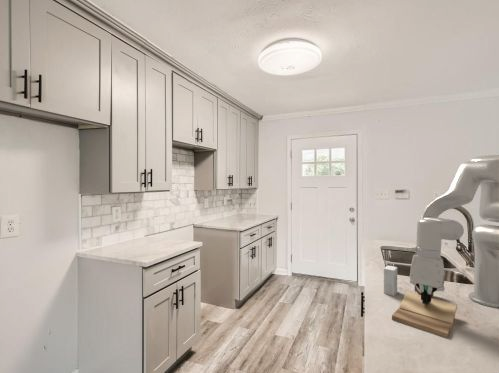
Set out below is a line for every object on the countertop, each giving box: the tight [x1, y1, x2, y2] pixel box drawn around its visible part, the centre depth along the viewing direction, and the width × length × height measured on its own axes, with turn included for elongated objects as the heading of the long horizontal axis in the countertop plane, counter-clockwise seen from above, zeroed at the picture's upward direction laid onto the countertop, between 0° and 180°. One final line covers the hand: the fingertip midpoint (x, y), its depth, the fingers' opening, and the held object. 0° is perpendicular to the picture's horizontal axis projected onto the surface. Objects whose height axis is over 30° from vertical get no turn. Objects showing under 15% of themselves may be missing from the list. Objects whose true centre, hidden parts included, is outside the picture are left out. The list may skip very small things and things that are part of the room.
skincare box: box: [383, 265, 398, 297], centre depth 119 cm, size 6×4×12 cm
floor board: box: [391, 307, 453, 339], centre depth 97 cm, size 20×18×2 cm
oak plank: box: [398, 291, 458, 327], centre depth 100 cm, size 10×16×2 cm, turn 45°
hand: (425, 303), depth 101 cm, fingers closed
